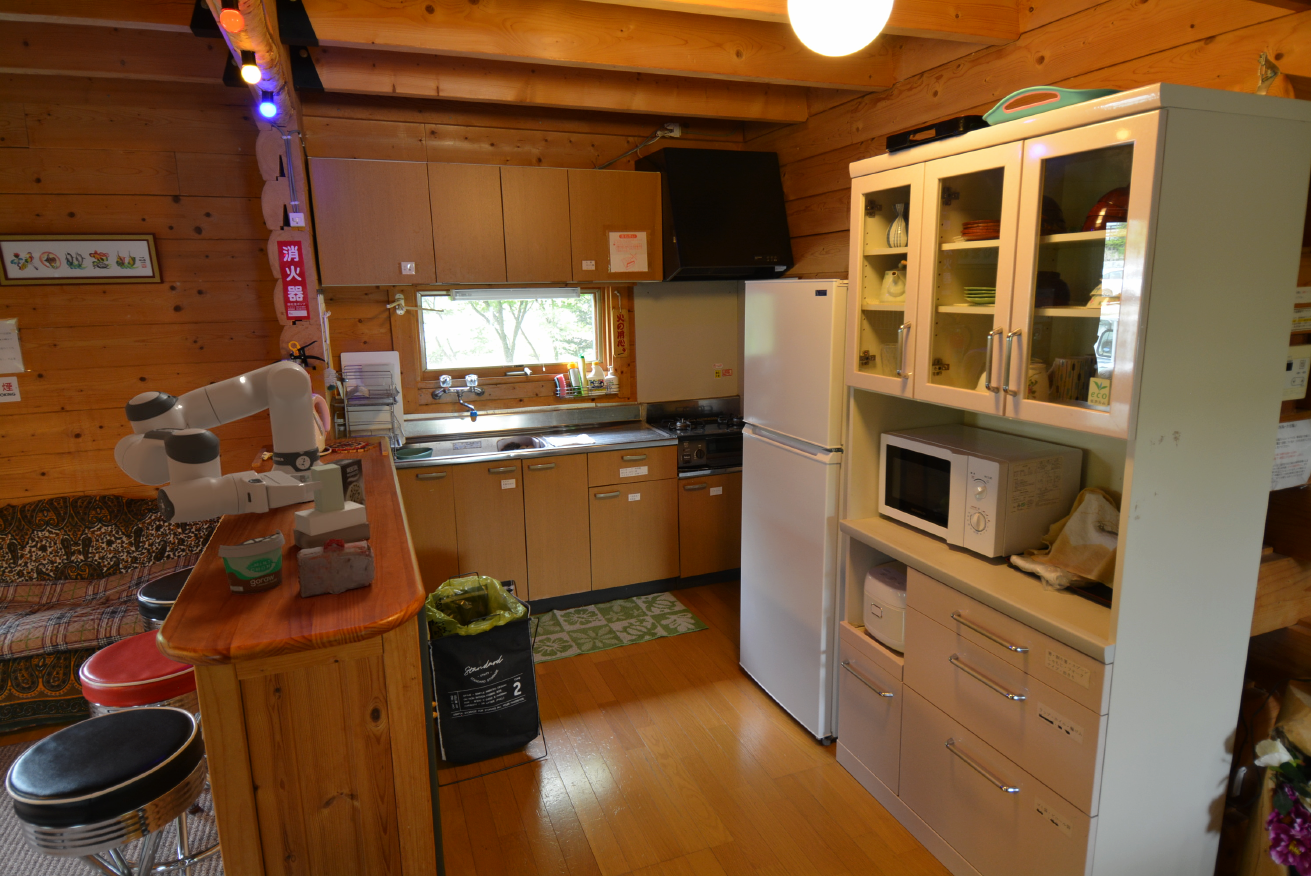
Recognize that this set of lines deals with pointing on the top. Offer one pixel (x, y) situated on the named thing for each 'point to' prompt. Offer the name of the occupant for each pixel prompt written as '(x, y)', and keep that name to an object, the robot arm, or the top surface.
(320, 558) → the food item
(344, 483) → the coffee box
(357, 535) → the walnut slab
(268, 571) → the food container
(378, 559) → the top surface
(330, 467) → the green block
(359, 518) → the white slab
